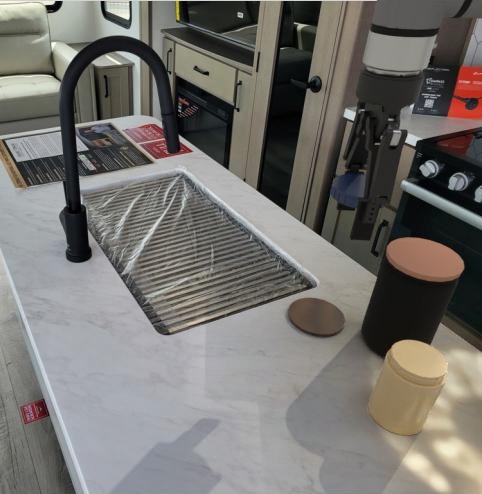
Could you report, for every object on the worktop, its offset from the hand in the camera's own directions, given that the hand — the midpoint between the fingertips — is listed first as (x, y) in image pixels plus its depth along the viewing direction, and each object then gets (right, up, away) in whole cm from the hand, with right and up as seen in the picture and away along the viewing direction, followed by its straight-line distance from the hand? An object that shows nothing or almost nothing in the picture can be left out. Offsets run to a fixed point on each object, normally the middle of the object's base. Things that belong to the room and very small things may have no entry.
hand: (352, 223), depth 73 cm
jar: (+5, -28, -3) cm, 29 cm away
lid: (0, +5, -3) cm, 6 cm away
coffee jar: (+11, -20, +9) cm, 25 cm away
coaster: (-1, -17, +15) cm, 22 cm away
